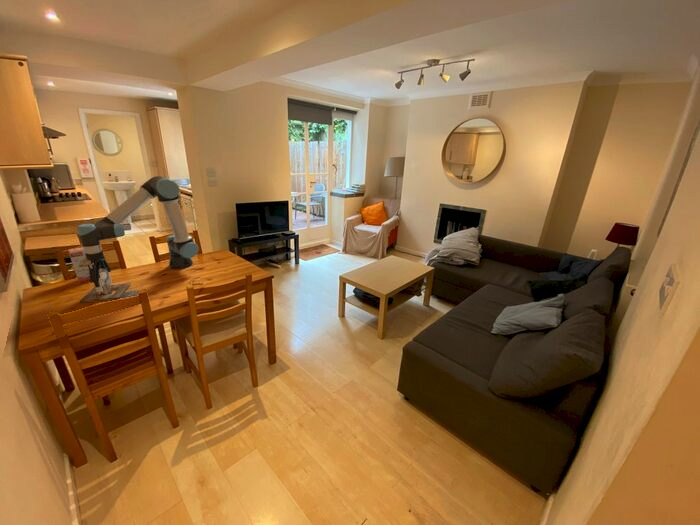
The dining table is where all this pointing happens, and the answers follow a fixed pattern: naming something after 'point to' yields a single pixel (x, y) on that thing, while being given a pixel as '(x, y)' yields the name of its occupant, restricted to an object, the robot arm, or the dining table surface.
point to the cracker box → (80, 263)
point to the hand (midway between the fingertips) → (104, 286)
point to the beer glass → (105, 282)
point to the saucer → (131, 293)
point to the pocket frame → (92, 295)
